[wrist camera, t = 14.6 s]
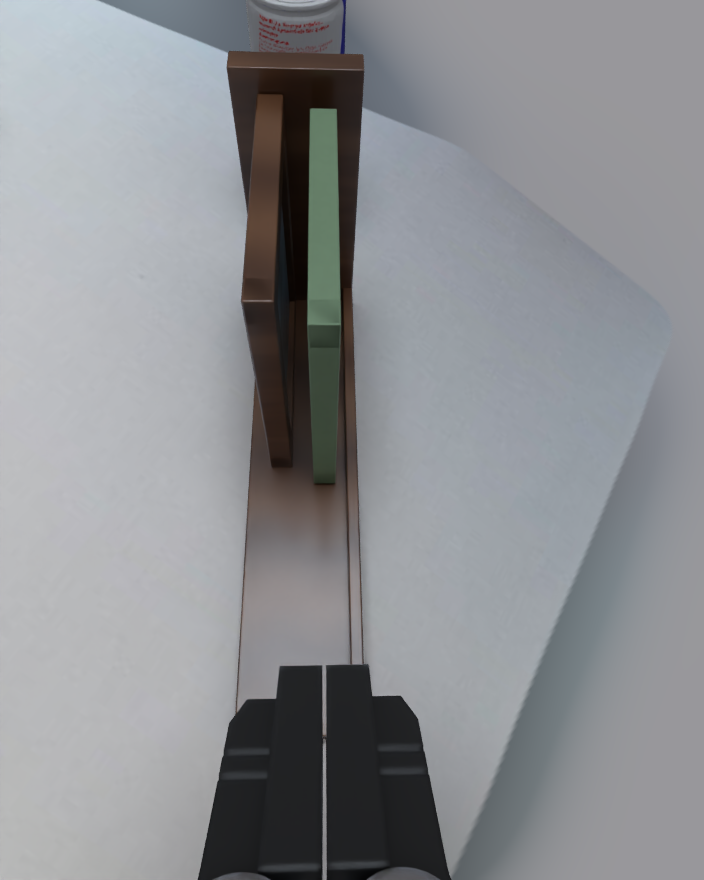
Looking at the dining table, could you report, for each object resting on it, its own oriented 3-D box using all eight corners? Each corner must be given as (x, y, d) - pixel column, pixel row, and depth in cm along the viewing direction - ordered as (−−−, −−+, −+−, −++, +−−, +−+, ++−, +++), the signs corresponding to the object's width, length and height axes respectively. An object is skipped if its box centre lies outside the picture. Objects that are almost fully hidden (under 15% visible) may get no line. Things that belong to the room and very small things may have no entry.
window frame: (362, 736, 30) (399, 711, 15) (237, 739, 30) (150, 717, 15) (350, 301, 42) (363, 53, 28) (262, 300, 42) (228, 50, 27)
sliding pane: (335, 483, 34) (341, 324, 22) (313, 483, 34) (307, 324, 22) (333, 312, 40) (336, 108, 27) (314, 312, 40) (309, 107, 27)
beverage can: (353, 212, 46) (364, -9, 33) (285, 235, 45) (268, 14, 32) (321, 166, 49) (319, -58, 35) (255, 186, 47) (227, -39, 34)
